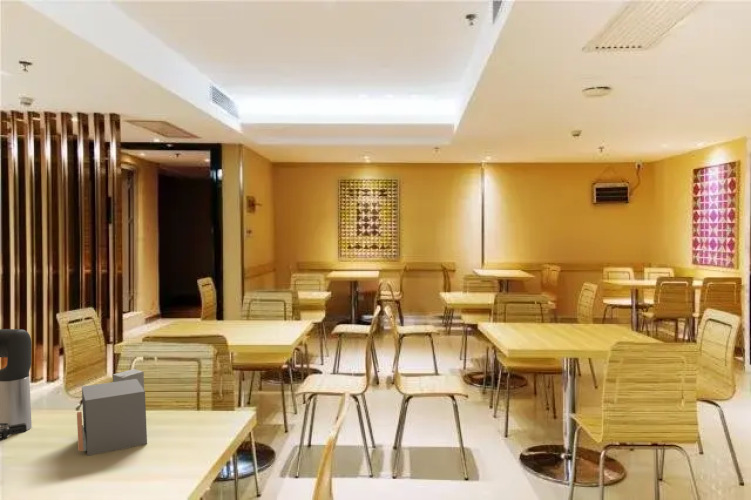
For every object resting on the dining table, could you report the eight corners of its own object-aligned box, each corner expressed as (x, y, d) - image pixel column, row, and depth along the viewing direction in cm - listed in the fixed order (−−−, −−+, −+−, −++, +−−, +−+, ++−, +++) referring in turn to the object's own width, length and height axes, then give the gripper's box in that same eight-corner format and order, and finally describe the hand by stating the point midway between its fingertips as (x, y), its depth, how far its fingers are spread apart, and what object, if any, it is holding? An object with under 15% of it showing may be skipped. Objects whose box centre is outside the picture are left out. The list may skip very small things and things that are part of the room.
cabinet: (83, 437, 179) (81, 386, 179) (138, 427, 187) (136, 378, 187) (87, 455, 164) (85, 400, 163) (147, 443, 172) (144, 391, 171)
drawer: (76, 436, 177) (74, 400, 177) (133, 426, 185) (131, 391, 185) (78, 452, 164) (76, 413, 164) (139, 440, 172) (138, 403, 172)
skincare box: (135, 412, 204) (133, 368, 203) (147, 415, 200) (145, 370, 199) (112, 418, 197) (110, 373, 196) (124, 422, 193) (122, 375, 192)
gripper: (-56, 435, 144) (25, 420, 152) (-49, 419, 155) (26, 407, 164) (-54, 464, 144) (26, 448, 153) (-47, 446, 155) (27, 433, 164)
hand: (26, 427), depth 158 cm, fingers closed
